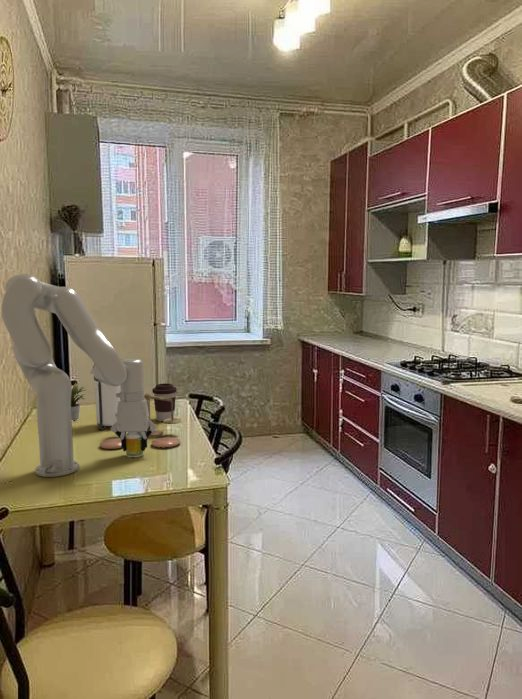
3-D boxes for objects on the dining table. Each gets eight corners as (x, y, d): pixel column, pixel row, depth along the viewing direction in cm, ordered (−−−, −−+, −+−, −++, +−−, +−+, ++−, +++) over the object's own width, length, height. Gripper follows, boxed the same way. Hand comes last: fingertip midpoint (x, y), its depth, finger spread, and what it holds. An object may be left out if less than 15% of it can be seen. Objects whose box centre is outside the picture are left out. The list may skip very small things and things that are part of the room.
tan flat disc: (179, 448, 182) (178, 445, 182) (149, 449, 181) (149, 445, 181) (181, 440, 192) (181, 437, 192) (154, 441, 191) (154, 437, 191)
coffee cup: (161, 424, 215) (160, 387, 213) (149, 419, 223) (147, 384, 221) (181, 419, 222) (180, 384, 220) (169, 415, 229) (168, 381, 227)
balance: (114, 439, 194) (112, 393, 192) (118, 434, 201) (116, 390, 199) (180, 437, 195) (179, 392, 193) (182, 432, 202) (181, 388, 200)
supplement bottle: (138, 458, 172) (137, 429, 171) (123, 457, 173) (122, 428, 172) (145, 453, 177) (144, 425, 176) (130, 452, 178) (129, 424, 177)
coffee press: (114, 433, 202) (110, 355, 198) (84, 428, 210) (81, 353, 206) (145, 423, 217) (142, 350, 213) (116, 418, 225) (113, 348, 221)
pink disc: (126, 450, 181) (126, 446, 181) (96, 450, 181) (96, 447, 180) (131, 441, 191) (131, 438, 191) (104, 442, 190) (103, 438, 190)
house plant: (87, 423, 216) (85, 384, 214) (51, 425, 214) (49, 386, 212) (92, 415, 230) (90, 378, 228) (59, 417, 228) (57, 379, 226)
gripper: (103, 399, 169) (105, 454, 171) (157, 398, 170) (159, 453, 172) (108, 394, 176) (111, 447, 178) (160, 393, 177) (162, 446, 179)
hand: (134, 449), depth 175 cm, fingers closed on supplement bottle, 5 cm apart
